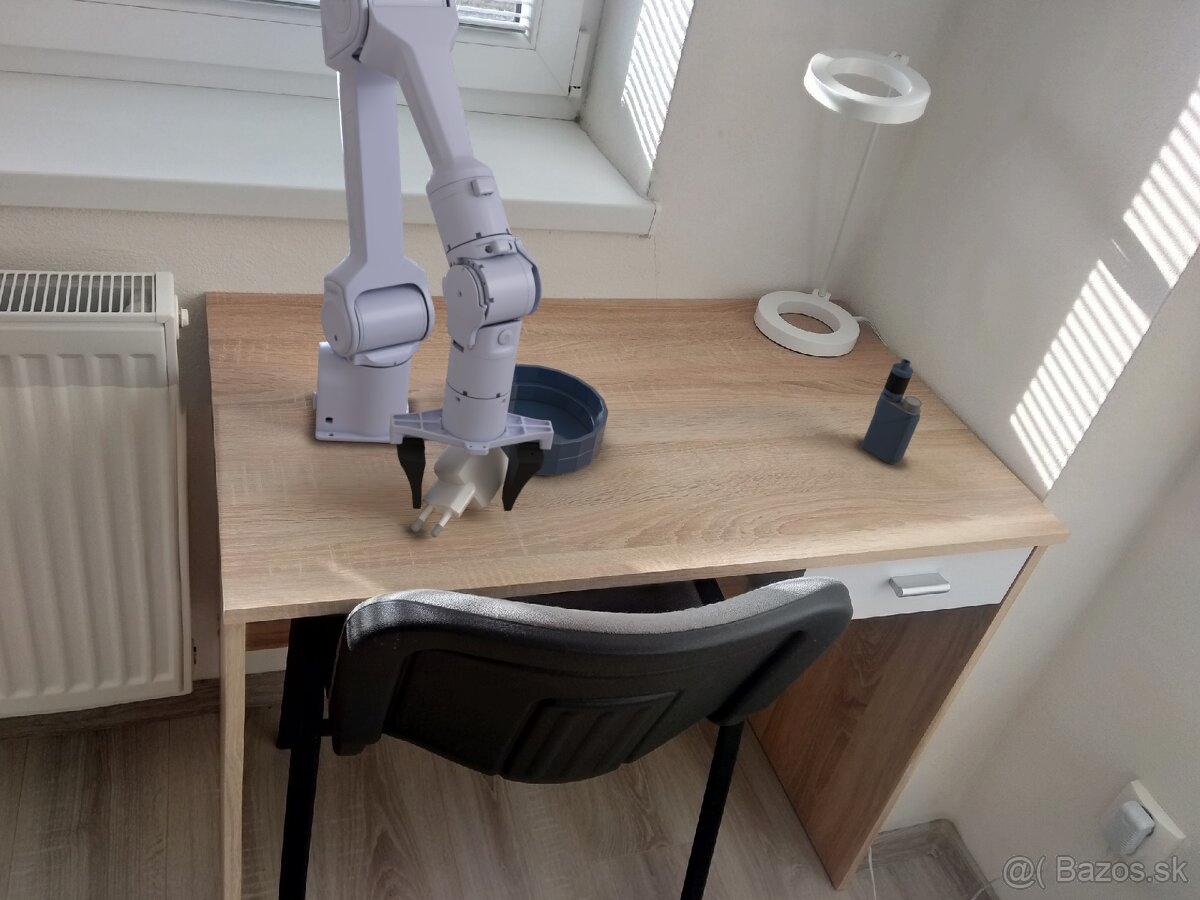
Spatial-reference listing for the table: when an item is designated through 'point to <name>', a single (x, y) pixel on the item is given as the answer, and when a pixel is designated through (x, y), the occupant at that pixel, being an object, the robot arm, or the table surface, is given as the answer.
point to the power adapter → (462, 484)
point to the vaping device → (893, 417)
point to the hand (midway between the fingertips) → (462, 503)
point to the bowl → (560, 415)
